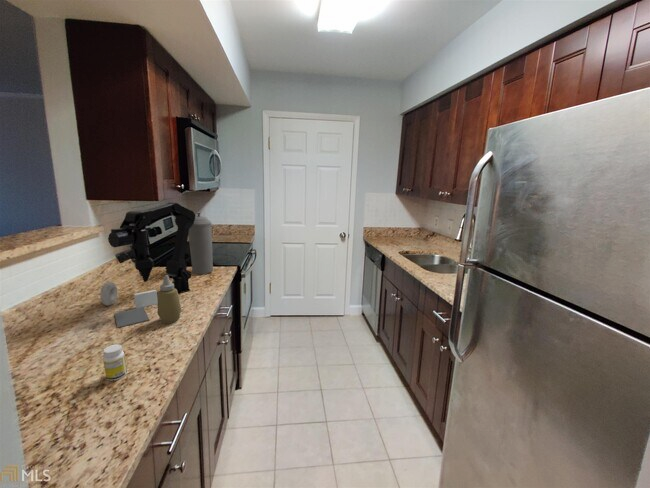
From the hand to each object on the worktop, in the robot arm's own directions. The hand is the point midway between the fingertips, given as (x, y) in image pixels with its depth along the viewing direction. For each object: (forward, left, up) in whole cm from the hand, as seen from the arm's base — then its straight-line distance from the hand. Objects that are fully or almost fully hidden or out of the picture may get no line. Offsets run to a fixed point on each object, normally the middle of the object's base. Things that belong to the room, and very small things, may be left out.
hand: (143, 278), depth 122 cm
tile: (0, 0, -12) cm, 12 cm away
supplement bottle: (+14, +47, -12) cm, 51 cm away
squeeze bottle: (-5, +21, -12) cm, 24 cm away
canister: (-33, -33, -12) cm, 48 cm away
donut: (+12, -10, -12) cm, 20 cm away
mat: (+7, +9, -12) cm, 16 cm away
